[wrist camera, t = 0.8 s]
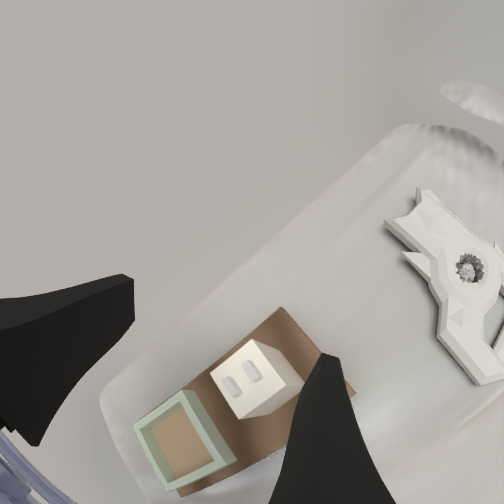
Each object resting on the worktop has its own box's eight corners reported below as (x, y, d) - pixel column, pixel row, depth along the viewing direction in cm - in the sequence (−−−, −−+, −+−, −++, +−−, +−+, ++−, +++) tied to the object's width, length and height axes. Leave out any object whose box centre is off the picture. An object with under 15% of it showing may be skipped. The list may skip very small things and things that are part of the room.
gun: (353, 240, 22) (424, 171, 21) (355, 257, 25) (420, 193, 24) (498, 401, 11) (558, 303, 11) (482, 400, 14) (541, 314, 14)
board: (187, 495, 19) (181, 497, 19) (146, 419, 26) (139, 419, 25) (356, 392, 19) (355, 393, 18) (284, 309, 25) (281, 306, 24)
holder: (179, 488, 19) (166, 492, 18) (145, 425, 24) (132, 425, 23) (237, 460, 19) (226, 464, 18) (194, 390, 24) (181, 389, 22)
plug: (269, 414, 20) (232, 420, 15) (244, 378, 23) (203, 371, 18) (307, 385, 20) (281, 384, 15) (279, 350, 23) (246, 336, 18)
